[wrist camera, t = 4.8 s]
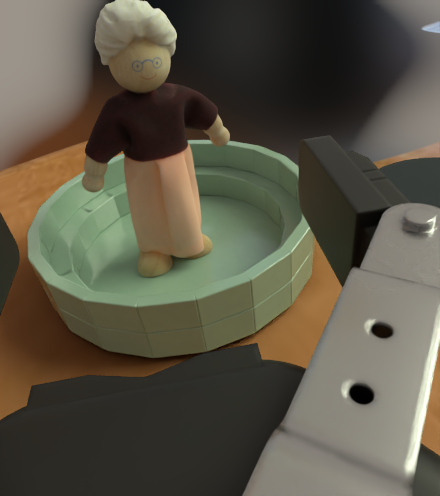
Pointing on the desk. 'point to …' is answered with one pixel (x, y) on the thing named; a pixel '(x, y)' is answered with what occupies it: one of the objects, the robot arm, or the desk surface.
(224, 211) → the bowl
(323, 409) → the robot arm
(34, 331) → the desk surface
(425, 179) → the coaster
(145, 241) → the grandmother figurine
